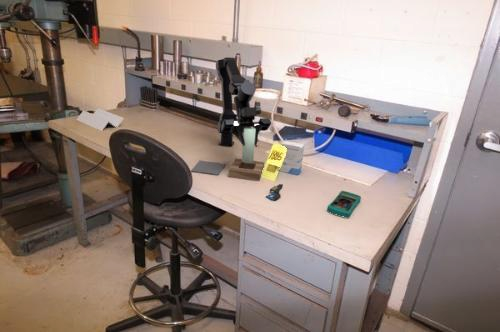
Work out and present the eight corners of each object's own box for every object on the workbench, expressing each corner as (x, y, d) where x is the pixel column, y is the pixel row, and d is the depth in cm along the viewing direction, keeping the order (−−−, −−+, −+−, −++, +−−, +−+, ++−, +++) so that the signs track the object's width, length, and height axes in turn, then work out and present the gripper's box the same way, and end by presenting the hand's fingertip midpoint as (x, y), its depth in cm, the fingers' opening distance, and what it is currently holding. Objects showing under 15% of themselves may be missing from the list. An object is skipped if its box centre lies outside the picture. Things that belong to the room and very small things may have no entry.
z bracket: (110, 137, 176) (101, 130, 171) (85, 126, 190) (76, 119, 185) (123, 118, 179) (115, 111, 174) (98, 108, 193) (89, 101, 188)
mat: (199, 161, 143) (199, 160, 143) (225, 164, 142) (225, 163, 142) (190, 171, 133) (190, 170, 133) (218, 175, 132) (218, 174, 132)
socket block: (235, 165, 142) (235, 158, 141) (263, 168, 141) (264, 162, 139) (228, 176, 131) (228, 169, 130) (259, 181, 130) (260, 173, 129)
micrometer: (275, 198, 115) (262, 194, 118) (275, 203, 116) (262, 198, 119) (291, 185, 125) (279, 181, 127) (290, 190, 125) (278, 186, 128)
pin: (243, 158, 136) (245, 126, 131) (254, 159, 136) (256, 127, 130) (240, 162, 132) (242, 129, 127) (252, 163, 132) (254, 131, 126)
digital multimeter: (325, 213, 112) (327, 205, 111) (340, 196, 124) (341, 188, 123) (347, 220, 109) (349, 212, 108) (360, 202, 120) (362, 195, 119)
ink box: (301, 171, 141) (305, 143, 136) (297, 175, 137) (301, 147, 132) (282, 166, 144) (284, 139, 140) (277, 170, 140) (280, 143, 135)
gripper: (224, 97, 125) (230, 136, 120) (271, 97, 131) (279, 134, 126) (218, 113, 135) (224, 149, 130) (263, 112, 141) (270, 147, 136)
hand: (249, 144), depth 130 cm, fingers closed on pin, 4 cm apart
